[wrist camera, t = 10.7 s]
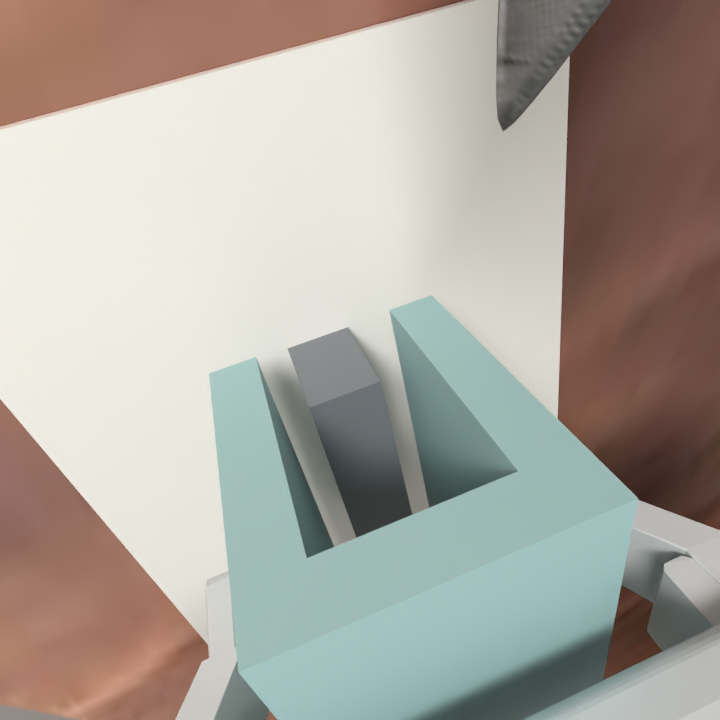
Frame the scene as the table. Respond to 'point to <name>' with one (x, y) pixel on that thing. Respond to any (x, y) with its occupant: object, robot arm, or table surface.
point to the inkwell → (536, 47)
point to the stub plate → (273, 270)
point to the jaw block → (424, 551)
